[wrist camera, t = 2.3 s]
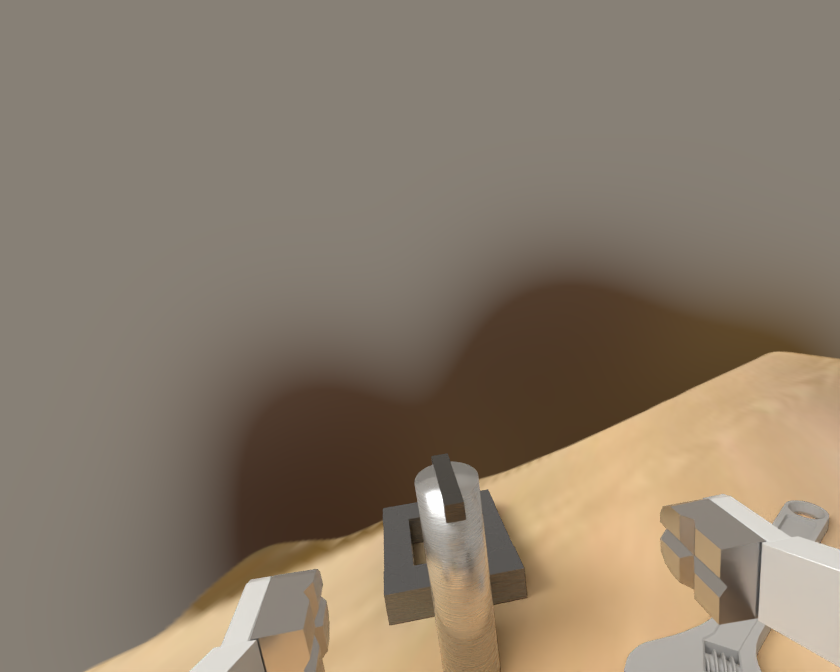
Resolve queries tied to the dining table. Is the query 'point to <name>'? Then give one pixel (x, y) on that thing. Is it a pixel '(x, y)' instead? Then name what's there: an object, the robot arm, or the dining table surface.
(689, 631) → the adjustable wrench
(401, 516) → the socket block
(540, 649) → the dining table surface
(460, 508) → the keyed metal peg
